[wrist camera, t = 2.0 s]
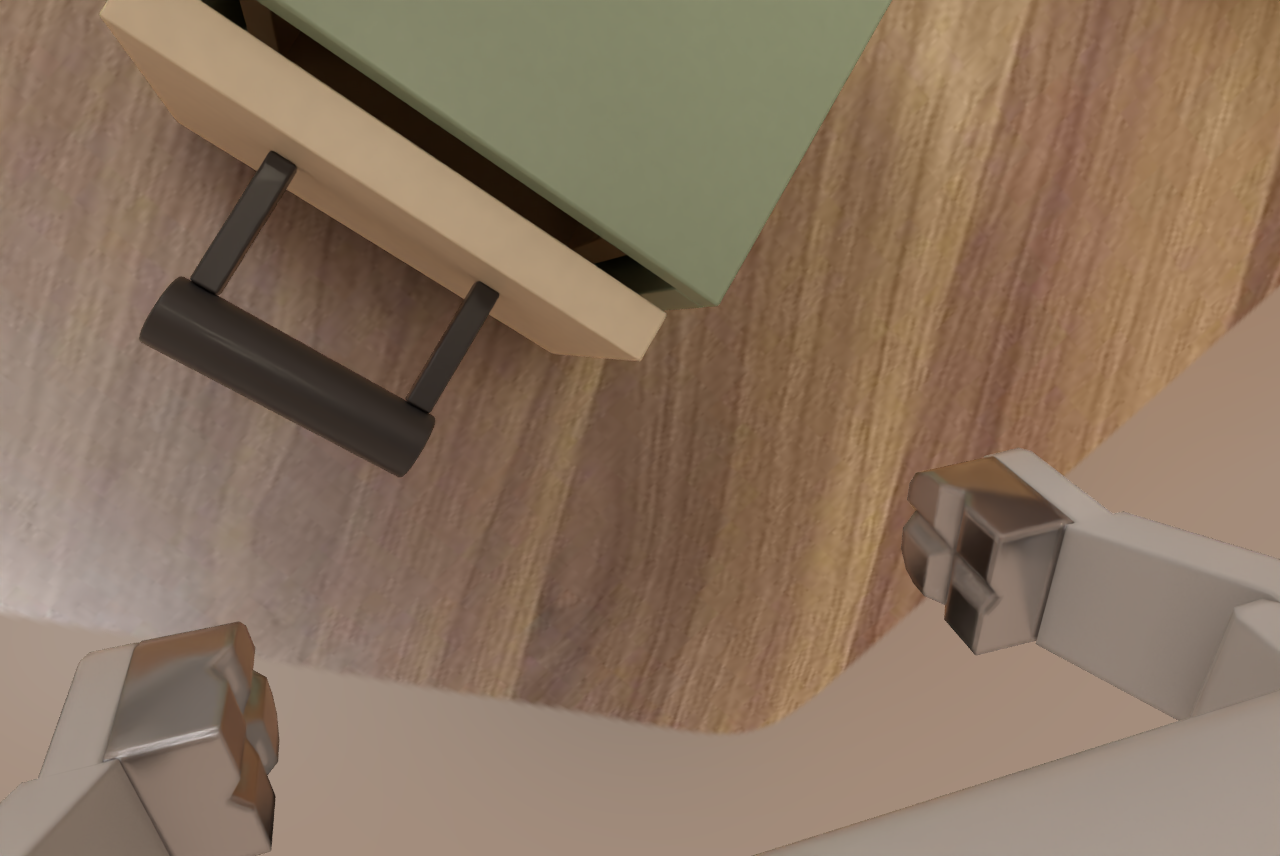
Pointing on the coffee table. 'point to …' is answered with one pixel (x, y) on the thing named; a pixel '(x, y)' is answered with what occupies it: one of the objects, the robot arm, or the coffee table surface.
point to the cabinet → (618, 108)
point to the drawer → (359, 224)
